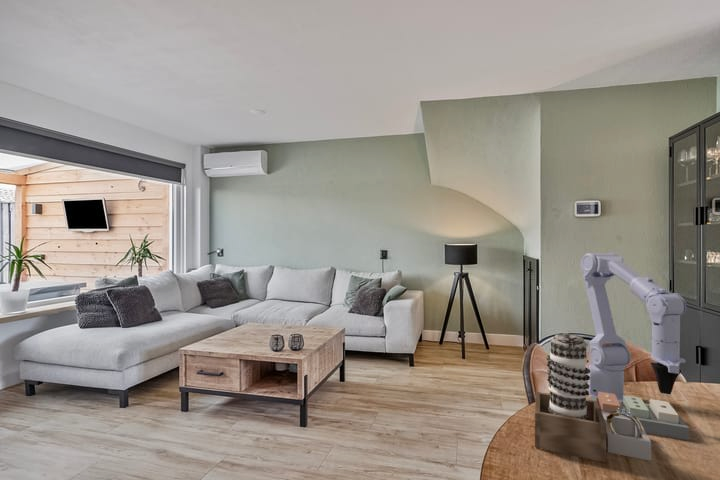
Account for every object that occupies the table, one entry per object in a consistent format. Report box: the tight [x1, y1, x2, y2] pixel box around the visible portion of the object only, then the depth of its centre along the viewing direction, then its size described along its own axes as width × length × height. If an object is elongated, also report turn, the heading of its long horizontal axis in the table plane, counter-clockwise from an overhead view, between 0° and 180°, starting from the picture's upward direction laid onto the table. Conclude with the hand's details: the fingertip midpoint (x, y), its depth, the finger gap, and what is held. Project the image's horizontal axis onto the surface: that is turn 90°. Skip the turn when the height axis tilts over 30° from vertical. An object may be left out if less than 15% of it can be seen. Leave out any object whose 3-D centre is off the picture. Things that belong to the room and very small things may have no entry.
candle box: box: [534, 391, 607, 463], centre depth 94 cm, size 14×14×8 cm
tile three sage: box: [623, 394, 649, 419], centre depth 104 cm, size 4×9×3 cm, turn 155°
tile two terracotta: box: [598, 392, 621, 413], centre depth 107 cm, size 4×9×3 cm, turn 155°
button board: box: [590, 395, 690, 441], centre depth 104 cm, size 19×13×3 cm, turn 65°
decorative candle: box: [546, 332, 590, 420], centre depth 94 cm, size 9×9×25 cm
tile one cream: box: [649, 398, 680, 424], centre depth 102 cm, size 4×9×3 cm, turn 155°
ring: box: [607, 408, 642, 438], centre depth 93 cm, size 7×3×8 cm, turn 31°
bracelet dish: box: [603, 414, 652, 462], centre depth 93 cm, size 8×12×4 cm, turn 155°
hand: (665, 392), depth 102 cm, fingers closed
